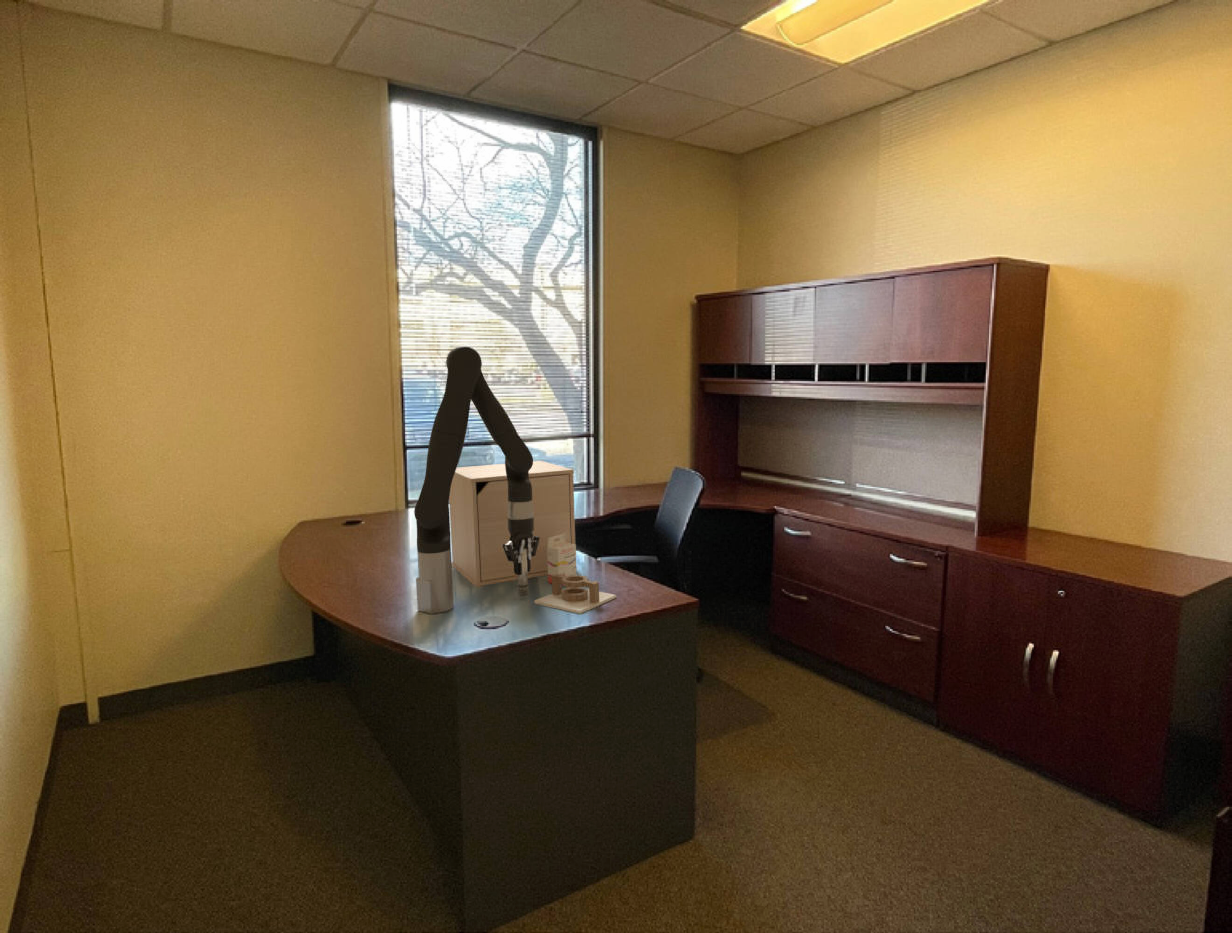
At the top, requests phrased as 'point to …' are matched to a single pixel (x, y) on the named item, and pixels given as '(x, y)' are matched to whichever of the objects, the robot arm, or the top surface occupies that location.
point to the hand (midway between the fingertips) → (522, 572)
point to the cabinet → (505, 519)
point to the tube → (523, 576)
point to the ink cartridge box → (561, 557)
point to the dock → (573, 605)
